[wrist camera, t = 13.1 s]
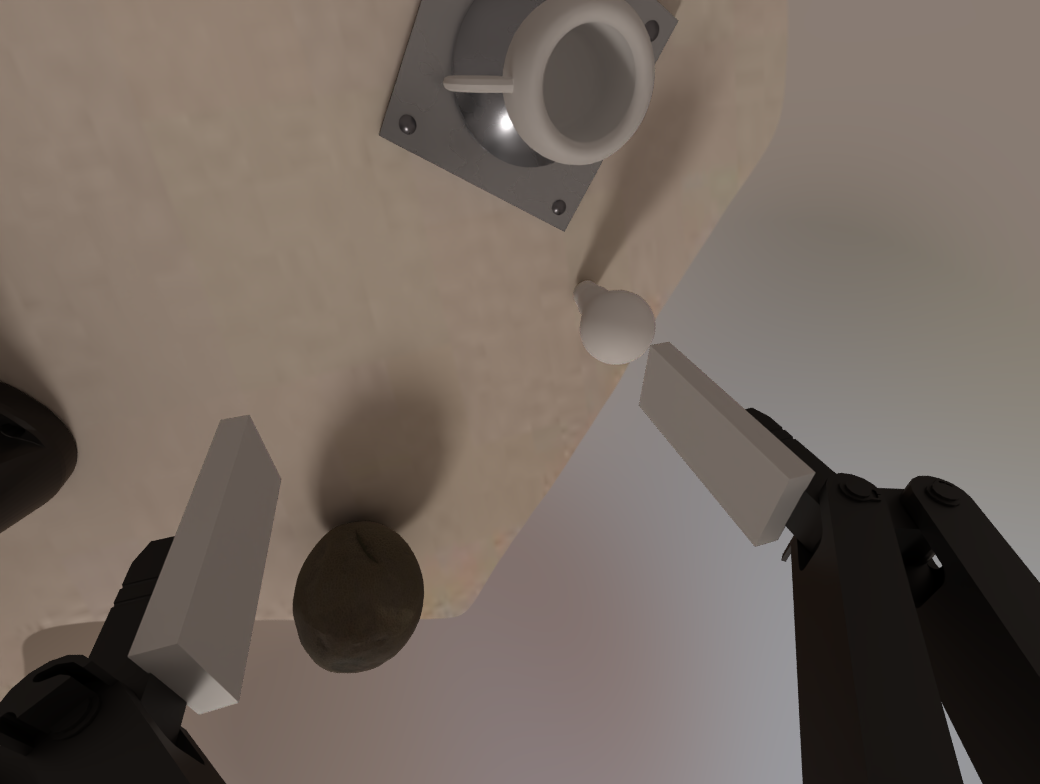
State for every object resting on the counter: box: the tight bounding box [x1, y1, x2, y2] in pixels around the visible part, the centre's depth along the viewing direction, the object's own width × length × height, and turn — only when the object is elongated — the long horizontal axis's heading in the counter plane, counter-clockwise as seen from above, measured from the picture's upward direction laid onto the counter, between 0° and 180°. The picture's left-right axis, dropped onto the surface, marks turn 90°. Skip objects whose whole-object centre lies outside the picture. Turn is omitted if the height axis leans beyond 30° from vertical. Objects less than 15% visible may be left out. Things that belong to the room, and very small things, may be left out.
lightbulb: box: [573, 280, 655, 365], centre depth 38 cm, size 6×6×11 cm
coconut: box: [293, 521, 424, 673], centre depth 49 cm, size 14×14×15 cm
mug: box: [443, 0, 655, 165], centre depth 27 cm, size 12×8×8 cm
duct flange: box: [379, 0, 678, 232], centre depth 31 cm, size 16×16×2 cm
